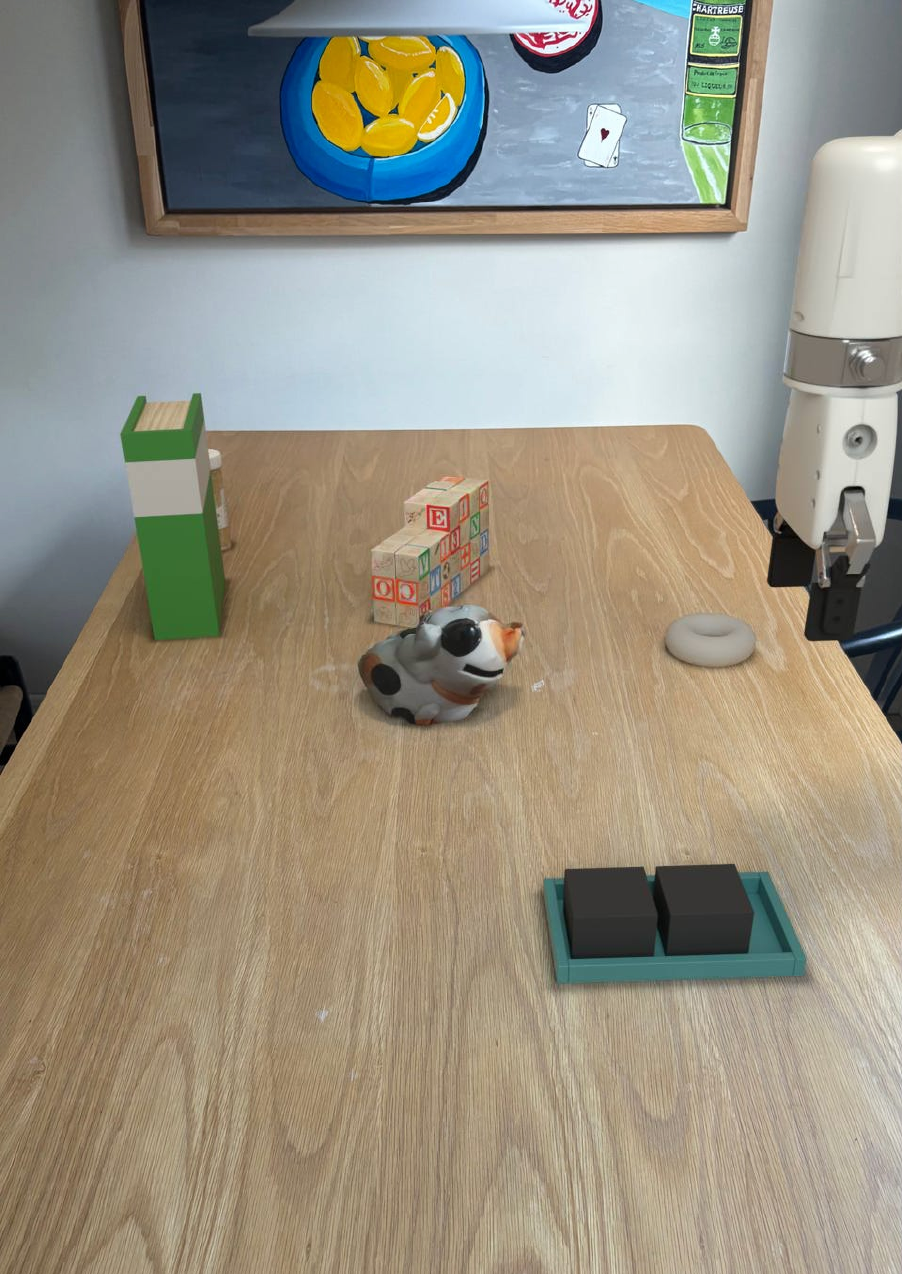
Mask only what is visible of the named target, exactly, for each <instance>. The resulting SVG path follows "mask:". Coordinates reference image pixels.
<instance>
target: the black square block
mask: <svg viewBox="0 0 902 1274" xmlns="http://www.w3.org/2000/svg"><path fill="white" fill-rule="evenodd" d="M654 869H655V871H654V875H655V879H654V890H653V900H654V904H655V907H656V911H657V914H658V919H657V928H658V931H659V935H660V938H661V942H662V945H663V949H664V952H665V956H690V955H721V954H748V951H749V945H750V938H751V931H752V925H753V918H754V910H753V908H752V905H751V903H750V900H749V898H748V895H747V893H746V890H745V888H744V885H743V883H742V881H741V878H740V876H739V873H738V872H739V871H738V868H737V866H736V864H735V863H717V864H716V863H715V864H713V863H712V864H683V865H656V866H655V868H654Z"/></svg>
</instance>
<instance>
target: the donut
mask: <svg viewBox="0 0 902 1274" xmlns="http://www.w3.org/2000/svg"><path fill="white" fill-rule="evenodd" d="M664 643H665V645H666V648H667V650H668V652H669V653H670V654H671V655H672V656H673V657H674V658H676V659H678V660H679V661H682V662H684V663H686V664H689V665H695V666H698V667H704V668H705V667H706V668H726V667H730V666H735V665H738V664H740V663H743V662H744V661H746V660H747V659H749V657H751V656H752V655H753V653H754V651H755V649H756V645H757V635H756V633H755V630H754V629H753V628H752V627H751V626H750V624H748V623H747V622H745V621H744V620H743V619H740V618H737V617H734V616H732V615H729V614H724V613H718V612H696V613H691V614H690V613H689V614H686V615H683V616H681V617H679V618H677V619H676V620H674V621H673V622H671V623H670V624H669V626H668V627H667V629H666V633H665V637H664Z"/></svg>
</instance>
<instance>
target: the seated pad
mask: <svg viewBox="0 0 902 1274" xmlns="http://www.w3.org/2000/svg"><path fill="white" fill-rule="evenodd" d="M563 875H564V876H563V878H564V894H563V914H564V920H565V926H566V931H567V937H568V943H569V949H570V954H571V959H595V958H627V957H654V950H655V940H656V929H657V919H658V914H657V911H656V907H655V904H654V900H653V897H652V893H651V890H650V886H649V883H648V880H647V876H646V875H647V873H646V870H645V867H644V866H617V867H586V868H564V873H563Z"/></svg>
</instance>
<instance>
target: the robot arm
mask: <svg viewBox="0 0 902 1274" xmlns="http://www.w3.org/2000/svg"><path fill="white" fill-rule="evenodd" d="M808 172H809V173H808V177H807V178H808V179H807V183H806V193H805V198H804V199H805V200H804V206H803V207H804V209H803V216H802V224H801V231H800V240H799V248H798V255H797V264H796V270H795V278H794V286H793V294H792V300H791V301H792V302H791V310H790V318H789V324H788V325H789V327H788V331H787V332H788V333H787V339H786V348H785V355H784V357H785V358H784V364H783V373H782V380H781V382H782V384H783V385H785V387H787V388H789V389H791V392H790V397H789V401H788V406H787V412H786V416H785V421H784V427H783V433H782V439H781V443H780V444H781V445H780V450H779V451H780V452H779V458H778V466H777V473H776V482H775V506H776V509H777V512H776V514H775V516H774V518H773V530H774V532H775V533H772V537H771V538H772V540H771V547H770V554H769V560H768V561H769V562H768V569H767V577H766V583H767V585H768V586H769V587H770V588H774V589H775V588H801V587H802V588H805V587H808V586H810V585H811V586H810V593H809V598H808V604H807V605H808V606H807V610H806V618H805V623H804V624H805V625H804V630H803V636H804V637H805V639H806V640H807V641H808V642H833V641H834V642H839V641H849V640H851V639H852V638H853V637H854V633H855V627H856V623H857V622H856V621H857V616H858V610H859V605H860V599H861V593H862V588H863V587H864V586H865V584H866V574H867V572H868V570H869V569H870V568H871V563H870V561H871V560H870V559H871V557H872V555H873V553H874V550H875V548H877V547H878V546H880V545H881V544H882V542H883V540H884V535H885V529H886V523H887V517H888V509H889V503H890V496H891V490H892V489H891V488H892V481H893V473H894V464H895V455H896V446H897V434H898V411H899V409H898V408H899V407H898V406H899V405H898V404H899V403H898V401H899V399H898V398H899V395H898V394H897V393H898V392H899V391H901V390H902V128H901V129H900V130H898V132H897V131H896V132H895V134H894V135H871V136H868V135H866V136H847V137H840V138H835V139H831V140H830V141H827V142H826V143H824V144H823V145H822V146H820V147H819V148H818V150H817V151H816V152H815V154H814V156H813V158H812V160H811V163H810V167H809V171H808ZM832 535H833V536H835V535H837V536H839V535H846V537H827V536H832ZM831 553H845V554H843V555H839V556H838V557H837V559H836V560H835V561H834V563H833V564H831V563H832V562H831ZM815 561H816V562H815ZM815 563H816V573H817V575H816V576H817V582H812V579H813V578H812V577H813V573H814V566H815Z"/></svg>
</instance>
